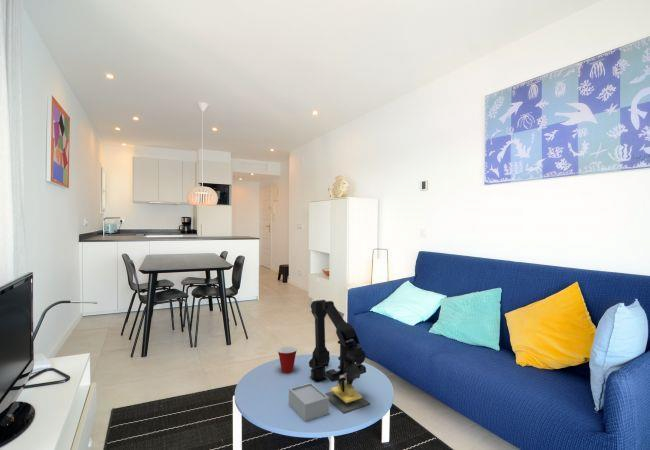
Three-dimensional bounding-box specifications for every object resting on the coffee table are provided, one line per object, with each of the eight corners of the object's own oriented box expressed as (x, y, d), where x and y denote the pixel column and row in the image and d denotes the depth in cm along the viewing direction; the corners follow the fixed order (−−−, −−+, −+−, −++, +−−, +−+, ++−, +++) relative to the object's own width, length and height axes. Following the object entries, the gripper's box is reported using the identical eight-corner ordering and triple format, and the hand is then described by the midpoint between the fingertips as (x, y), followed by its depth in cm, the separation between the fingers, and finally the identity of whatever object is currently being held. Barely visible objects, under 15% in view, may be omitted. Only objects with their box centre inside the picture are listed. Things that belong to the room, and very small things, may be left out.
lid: (345, 386, 158) (345, 376, 158) (361, 397, 147) (362, 387, 147) (330, 390, 153) (330, 380, 153) (346, 403, 143) (346, 392, 143)
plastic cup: (292, 365, 186) (292, 343, 186) (300, 372, 177) (301, 350, 177) (273, 369, 181) (273, 346, 181) (281, 377, 172) (281, 353, 172)
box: (310, 397, 152) (311, 382, 152) (328, 413, 139) (328, 397, 139) (288, 404, 146) (289, 388, 146) (305, 421, 133) (305, 404, 133)
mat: (347, 388, 161) (347, 386, 161) (370, 404, 147) (370, 403, 147) (322, 395, 154) (322, 394, 154) (343, 413, 139) (343, 412, 139)
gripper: (339, 366, 138) (338, 404, 138) (374, 357, 148) (373, 393, 148) (324, 357, 148) (324, 392, 148) (358, 349, 158) (358, 382, 158)
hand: (345, 390), depth 150 cm, fingers closed on lid, 3 cm apart
